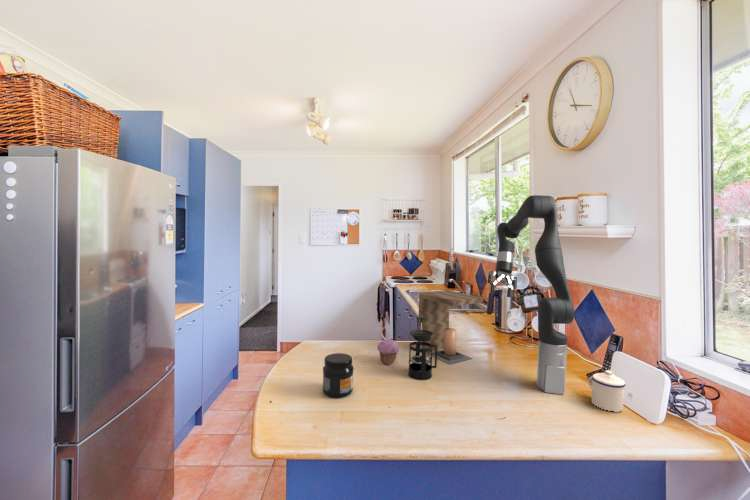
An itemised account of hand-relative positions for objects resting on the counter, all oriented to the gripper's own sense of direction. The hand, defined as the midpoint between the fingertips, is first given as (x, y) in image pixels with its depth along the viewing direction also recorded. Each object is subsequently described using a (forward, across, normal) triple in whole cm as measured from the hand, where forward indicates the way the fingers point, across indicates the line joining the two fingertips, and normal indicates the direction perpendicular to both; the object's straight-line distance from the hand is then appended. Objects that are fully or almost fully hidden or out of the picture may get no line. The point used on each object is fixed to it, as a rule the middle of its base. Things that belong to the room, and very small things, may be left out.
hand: (500, 295), depth 159 cm
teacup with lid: (+36, +15, -43) cm, 58 cm away
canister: (+32, -19, +5) cm, 38 cm away
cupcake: (+40, -48, +3) cm, 62 cm away
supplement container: (+51, -70, -19) cm, 89 cm away
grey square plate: (+32, -19, +5) cm, 38 cm away
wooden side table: (+32, -19, +5) cm, 38 cm away
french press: (+41, -38, -11) cm, 57 cm away
